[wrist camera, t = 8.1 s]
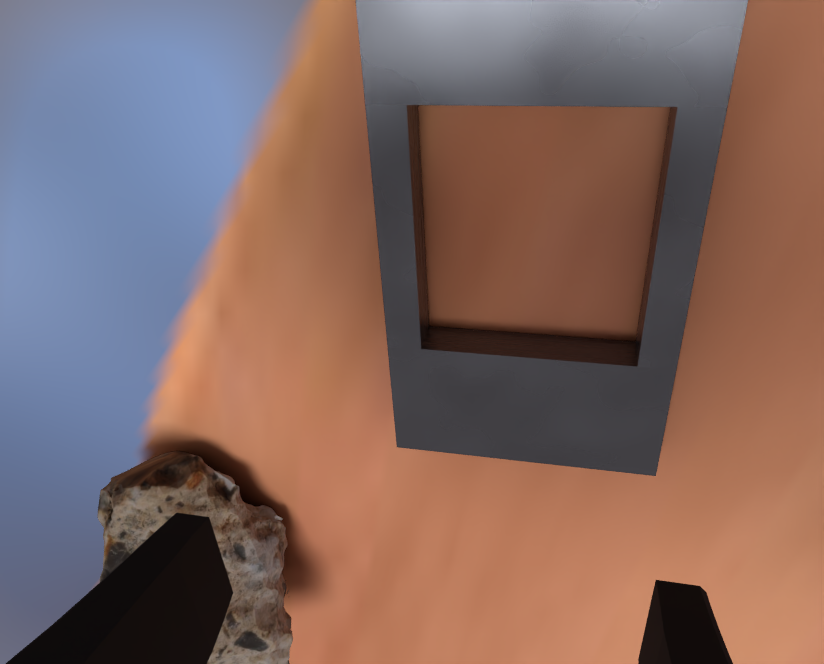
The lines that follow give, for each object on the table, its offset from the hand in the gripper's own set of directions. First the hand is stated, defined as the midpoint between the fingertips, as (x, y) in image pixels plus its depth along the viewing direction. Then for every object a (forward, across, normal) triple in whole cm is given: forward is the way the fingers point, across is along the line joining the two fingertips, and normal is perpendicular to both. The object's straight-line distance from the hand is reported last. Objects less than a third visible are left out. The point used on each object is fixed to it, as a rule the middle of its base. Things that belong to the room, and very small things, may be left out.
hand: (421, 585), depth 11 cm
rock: (+11, +11, +13) cm, 20 cm away
